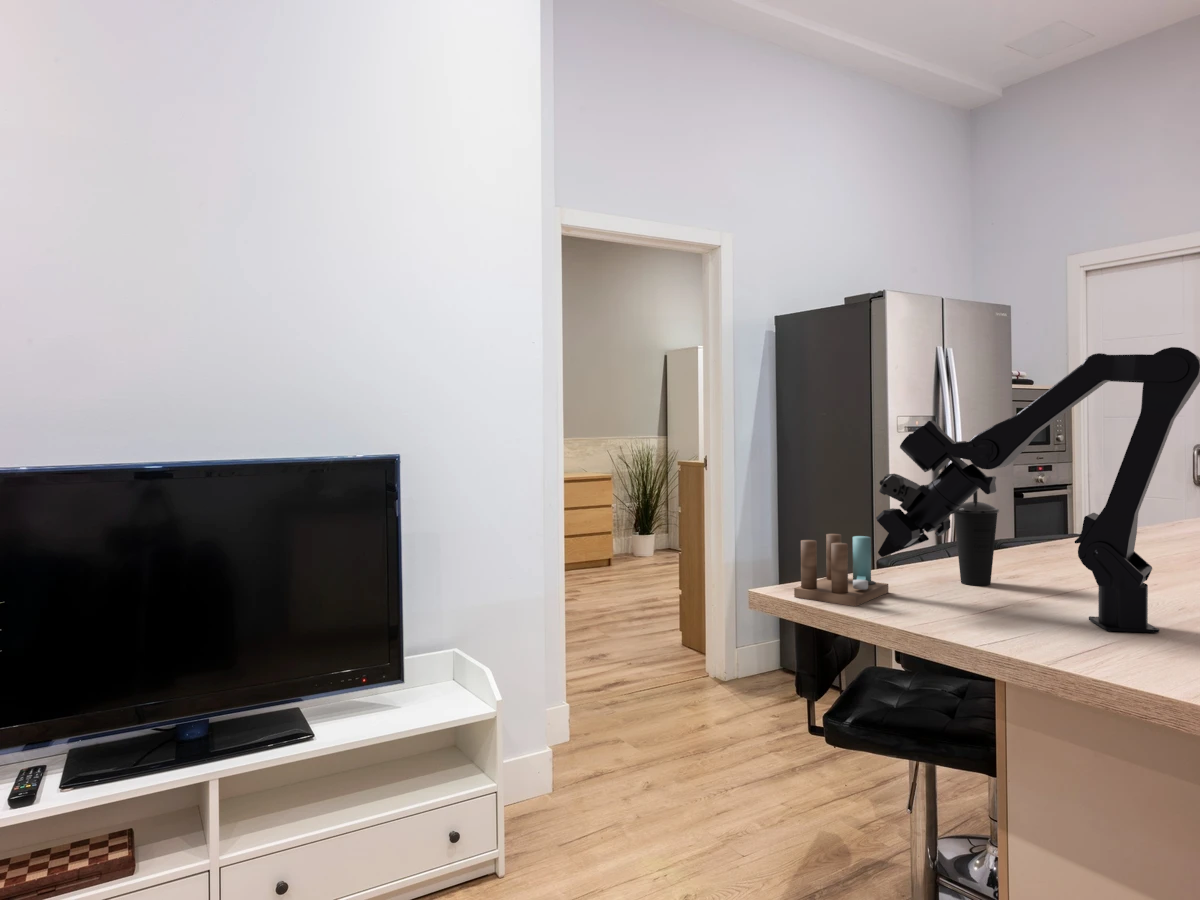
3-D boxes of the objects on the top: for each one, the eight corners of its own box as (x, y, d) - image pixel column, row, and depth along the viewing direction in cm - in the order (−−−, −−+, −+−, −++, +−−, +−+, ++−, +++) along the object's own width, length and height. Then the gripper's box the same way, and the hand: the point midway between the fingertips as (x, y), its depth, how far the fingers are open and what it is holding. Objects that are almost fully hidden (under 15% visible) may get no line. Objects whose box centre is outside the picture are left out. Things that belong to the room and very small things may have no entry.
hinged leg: (869, 590, 124) (869, 544, 124) (850, 588, 125) (850, 543, 125) (871, 578, 133) (871, 536, 133) (853, 577, 134) (853, 535, 134)
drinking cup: (988, 579, 141) (988, 471, 140) (1006, 587, 133) (1006, 474, 133) (946, 579, 142) (945, 472, 141) (961, 587, 134) (961, 474, 133)
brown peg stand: (888, 592, 131) (888, 537, 131) (855, 606, 121) (855, 547, 121) (829, 584, 138) (829, 532, 138) (794, 597, 129) (793, 541, 128)
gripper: (930, 455, 133) (870, 514, 140) (887, 459, 119) (823, 525, 127) (979, 502, 128) (913, 561, 135) (940, 512, 114) (870, 577, 122)
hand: (880, 554), depth 130 cm, fingers closed
